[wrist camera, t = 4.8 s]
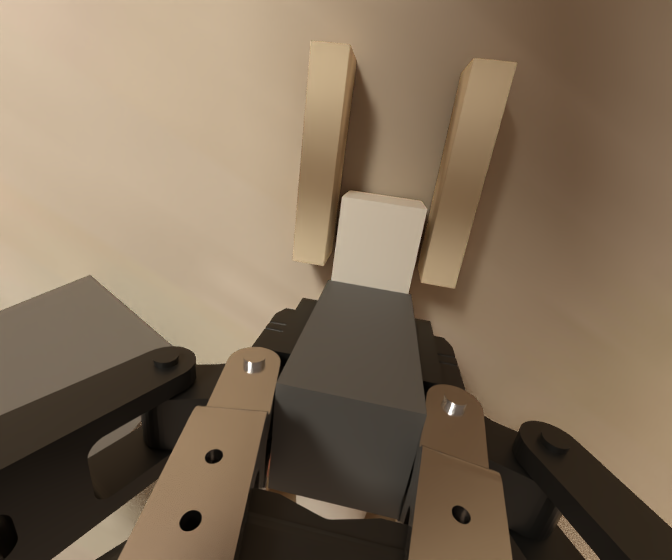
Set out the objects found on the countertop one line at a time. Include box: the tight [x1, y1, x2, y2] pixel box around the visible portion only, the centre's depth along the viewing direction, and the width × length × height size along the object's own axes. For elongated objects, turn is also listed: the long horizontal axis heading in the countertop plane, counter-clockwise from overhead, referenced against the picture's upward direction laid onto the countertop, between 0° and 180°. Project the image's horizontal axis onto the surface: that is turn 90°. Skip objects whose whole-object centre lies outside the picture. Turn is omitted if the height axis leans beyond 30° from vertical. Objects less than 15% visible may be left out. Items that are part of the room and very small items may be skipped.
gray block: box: [268, 190, 427, 519], centre depth 11 cm, size 10×4×8 cm, turn 173°
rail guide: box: [292, 40, 517, 289], centre depth 12 cm, size 7×6×2 cm
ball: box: [296, 495, 366, 520], centre depth 17 cm, size 4×4×4 cm
